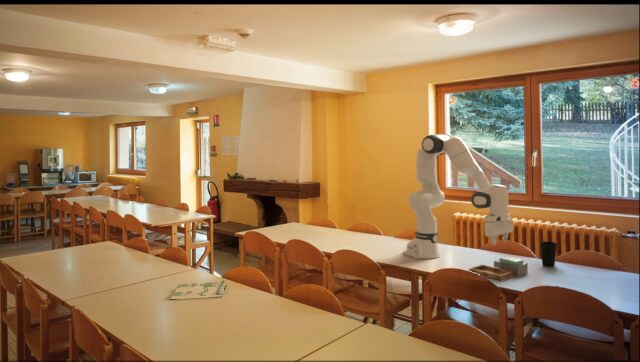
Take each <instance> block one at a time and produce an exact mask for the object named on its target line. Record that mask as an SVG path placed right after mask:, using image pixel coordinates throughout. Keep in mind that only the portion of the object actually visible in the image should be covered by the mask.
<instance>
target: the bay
mask: <svg viewBox="0 0 640 362" xmlns="http://www.w3.org/2000/svg"><path fill="white" fill-rule="evenodd" d="M528 266H529V265H528V262H523V264H521V265H518V266H515V265H510V264H505V263H500V269H504V270H509V271H513V272H514V277H516V276H517V277H516V278H519V277H521V275H522V276H524V275H526V273H527V274H528V273H529V272H528V271H529V270H528V269H529V268H528ZM518 276H519V277H518Z"/></svg>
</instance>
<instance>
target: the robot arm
mask: <svg viewBox="0 0 640 362" xmlns="http://www.w3.org/2000/svg"><path fill="white" fill-rule="evenodd" d="M444 154H446V155H447V157H448V159H449V161H450V162H451V165H452V166H453V168H454V169H455V170H456V171H457V172H458V173H462V174H464V175H467V176H469V177H470V178H472V180H473V181H474V183H475V184H476V185H477V187H478V189H479V190H477V191H475V192H473V193H472V194H471V199H470V201H471V205H472V206H473V207H474V208H475V209H480V210H483V209H484V210H485V209H489V212H488V213H487V214H486V215H485V216H484V217H483V220H484V229H483V230H484V235H485V236H486V237H488V238H490V241H491V245H494V246H496V245H497V240H496V238H497V236H501V235H503V236H502V238H501V239H502V240H501V241H502V242H504V243H507V242H508V237H509V233H512V232H513V231H514V221H513V219H512V216H511V215H510V212H509V192H508V187H507V186H505V185H503V184H498V183H491V182H490V180H489V178H488V177H487V175H486V174H485V173H484V171H483V169H482V168H481V167H480V165H479V164H478V163H477V161H476V160H475V158H474V157H473V155H472V153H471V151H470V149H469V147H468V146H467V145H466V143H465V142H464V141H463V139H461V137H459V136H453V137H452V136H450V135H448V134H441V133H437V134H430V135H427V136H425V137H424V138H423V139H422V142H421V147H420V148H419V149H418V150H417V153H416V180H417V182H418V183H419V184H420V185H421V188H422V190H421V189H420V190H417V191H414V192H412V193H410V194H409V195H408V198H407V199H408V206H409V207H410V208H411V209H412V210H413V211H414V213H415V216H416V221H417V222H416V225H417V227H416V228H417V231H416V232H414V233H413V235H415V236H414V238H412V239H411V240H410V241H408V242H407V244H406V249H405V250H403V251H402V254H404V255H406V256H409V257H411V258H415V259H436V258H440V257H441V254H440V250H439V244H438V237H439V235H438V234H439V233H438V227H437V226H438V220H437V217H436V216H434V214H433V212H432V209H433V208H437V207H439V206H441V205H443V204H444V202H445V200H446V197H445V193H444V192H443V190H441V189H440V186H439V183H438V180H437V179H438V178H437V166H436V165H437V157H438V156H442V155H444Z"/></svg>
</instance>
